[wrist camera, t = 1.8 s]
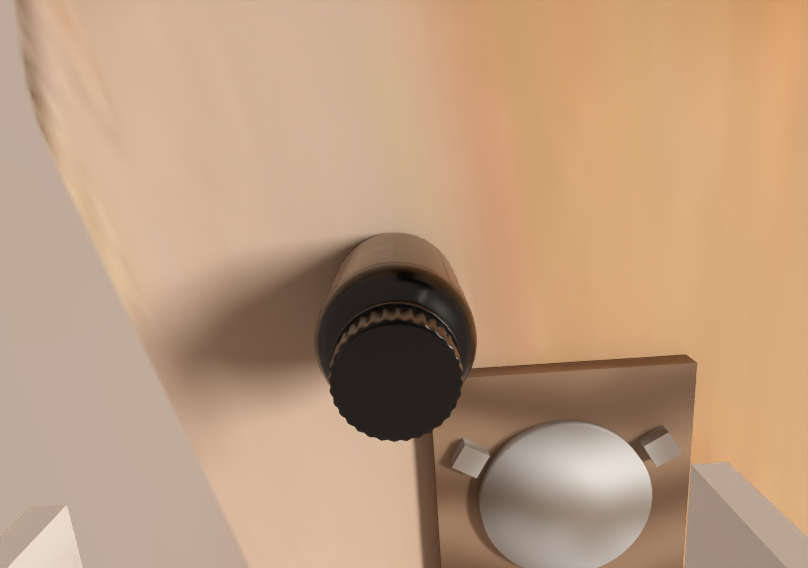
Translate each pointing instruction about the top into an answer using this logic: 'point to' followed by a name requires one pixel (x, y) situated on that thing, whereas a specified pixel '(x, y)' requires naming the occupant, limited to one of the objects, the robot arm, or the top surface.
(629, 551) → the board
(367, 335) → the supplement bottle
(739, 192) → the top surface
